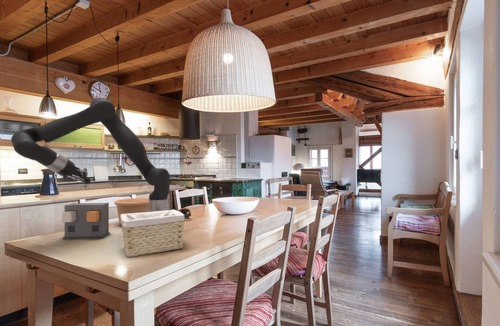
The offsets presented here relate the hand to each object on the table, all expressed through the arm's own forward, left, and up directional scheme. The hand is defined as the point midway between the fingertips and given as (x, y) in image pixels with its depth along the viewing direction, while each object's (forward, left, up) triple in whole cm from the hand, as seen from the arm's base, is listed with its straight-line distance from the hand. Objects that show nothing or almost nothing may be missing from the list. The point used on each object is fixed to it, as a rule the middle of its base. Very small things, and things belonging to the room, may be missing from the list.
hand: (88, 181), depth 138 cm
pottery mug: (-12, -55, -27) cm, 62 cm away
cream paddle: (+3, +7, -18) cm, 20 cm away
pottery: (+3, -31, -27) cm, 41 cm away
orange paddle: (-6, +2, -18) cm, 19 cm away
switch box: (+1, 0, -27) cm, 27 cm away
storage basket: (-42, +1, -27) cm, 50 cm away
